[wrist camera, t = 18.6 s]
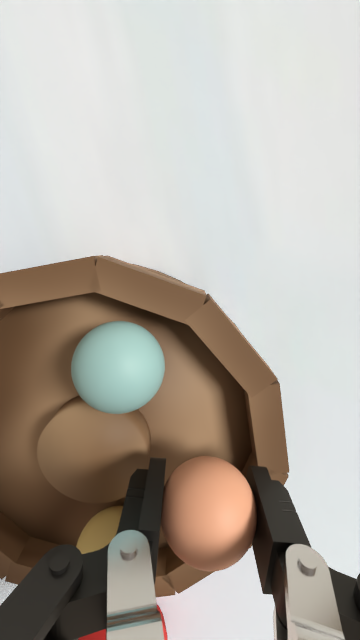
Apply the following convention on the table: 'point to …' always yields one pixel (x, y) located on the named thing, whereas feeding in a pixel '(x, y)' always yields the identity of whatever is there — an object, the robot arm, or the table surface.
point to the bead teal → (117, 367)
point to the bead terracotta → (208, 513)
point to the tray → (118, 429)
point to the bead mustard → (100, 530)
